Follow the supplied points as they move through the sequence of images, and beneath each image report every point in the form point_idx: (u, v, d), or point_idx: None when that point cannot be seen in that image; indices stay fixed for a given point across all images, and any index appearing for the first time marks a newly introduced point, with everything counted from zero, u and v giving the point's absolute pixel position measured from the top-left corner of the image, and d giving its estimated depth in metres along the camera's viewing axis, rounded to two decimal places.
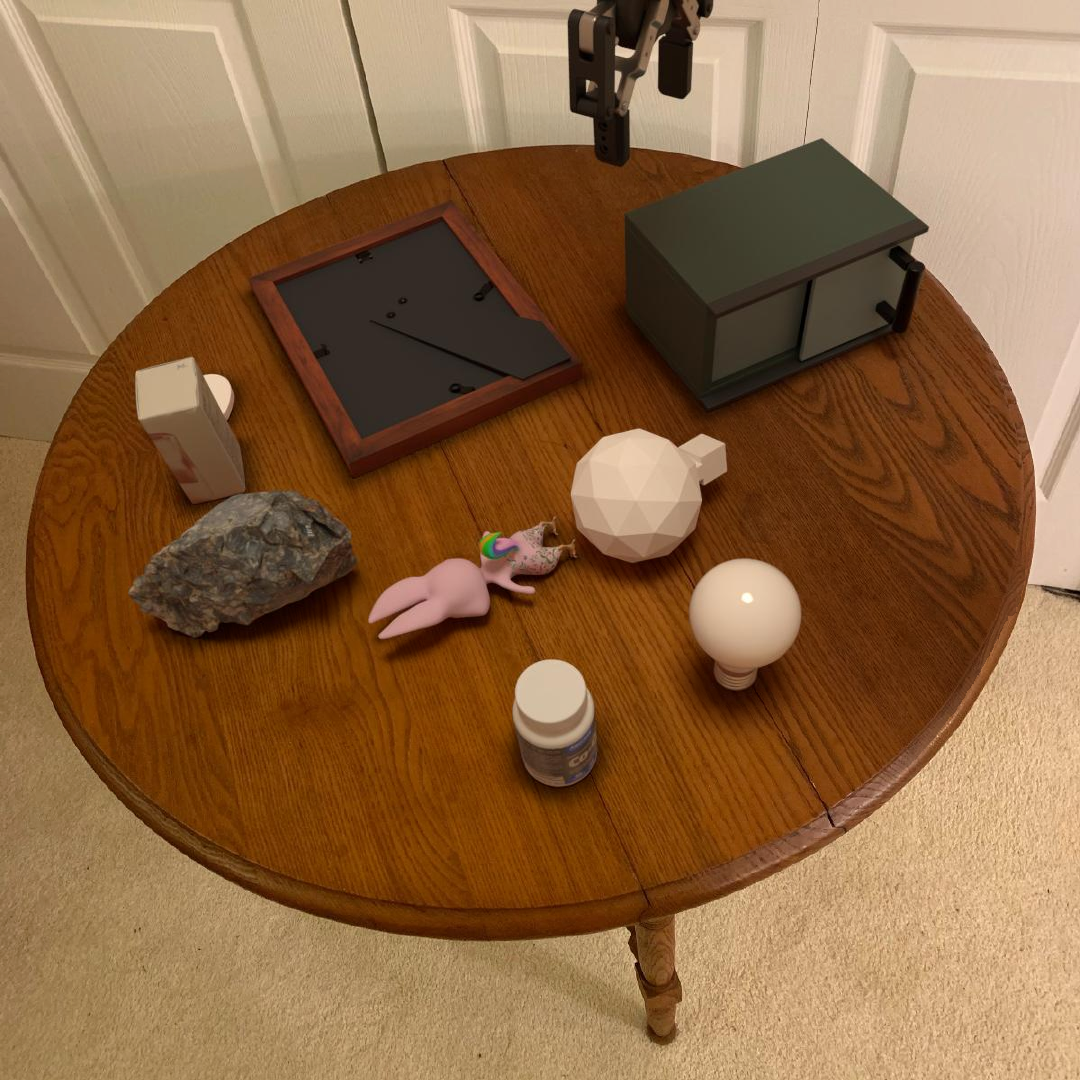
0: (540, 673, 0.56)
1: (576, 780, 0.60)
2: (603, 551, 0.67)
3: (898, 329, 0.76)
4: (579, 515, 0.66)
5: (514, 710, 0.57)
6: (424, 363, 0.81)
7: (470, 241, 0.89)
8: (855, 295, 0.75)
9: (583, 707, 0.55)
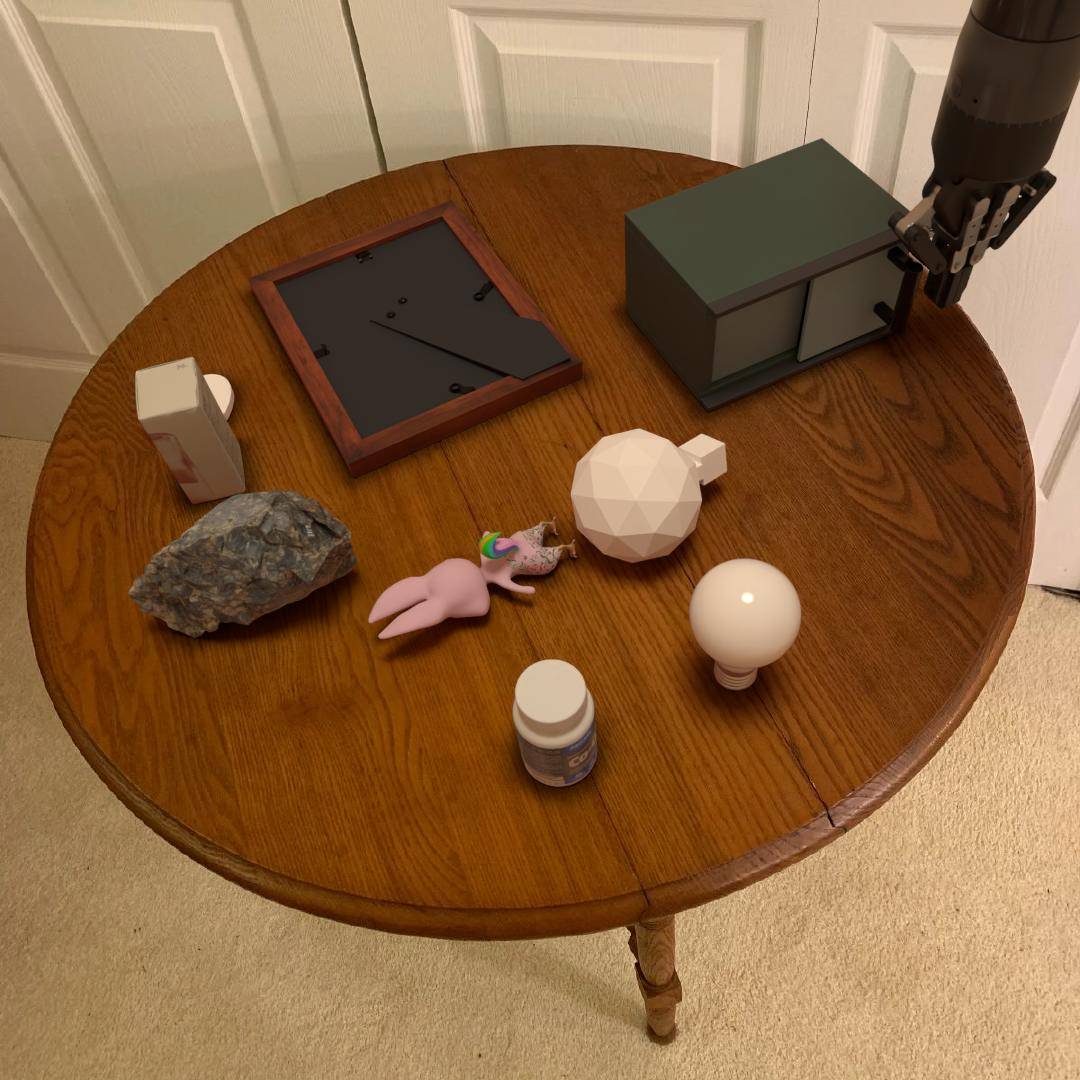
0: (540, 673, 0.56)
1: (576, 780, 0.60)
2: (603, 551, 0.67)
3: (896, 330, 0.76)
4: (579, 515, 0.66)
5: (514, 710, 0.57)
6: (424, 363, 0.81)
7: (470, 241, 0.89)
8: (853, 296, 0.75)
9: (583, 707, 0.55)
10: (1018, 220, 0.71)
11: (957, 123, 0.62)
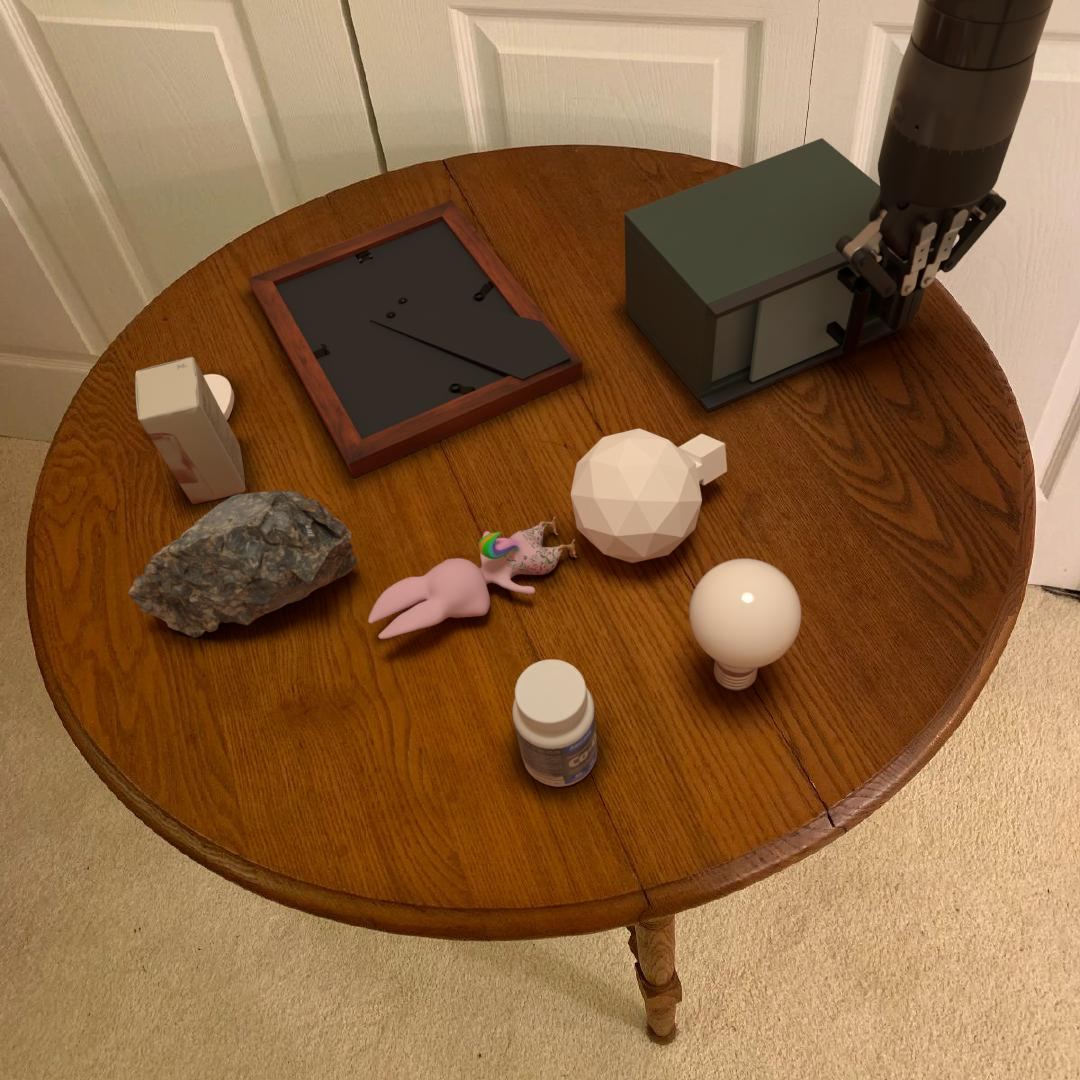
0: (540, 673, 0.56)
1: (576, 780, 0.60)
2: (603, 551, 0.67)
3: (848, 351, 0.75)
4: (579, 515, 0.66)
5: (514, 710, 0.57)
6: (424, 363, 0.81)
7: (470, 241, 0.89)
8: (804, 316, 0.74)
9: (583, 707, 0.55)
10: (968, 243, 0.70)
11: (900, 148, 0.62)
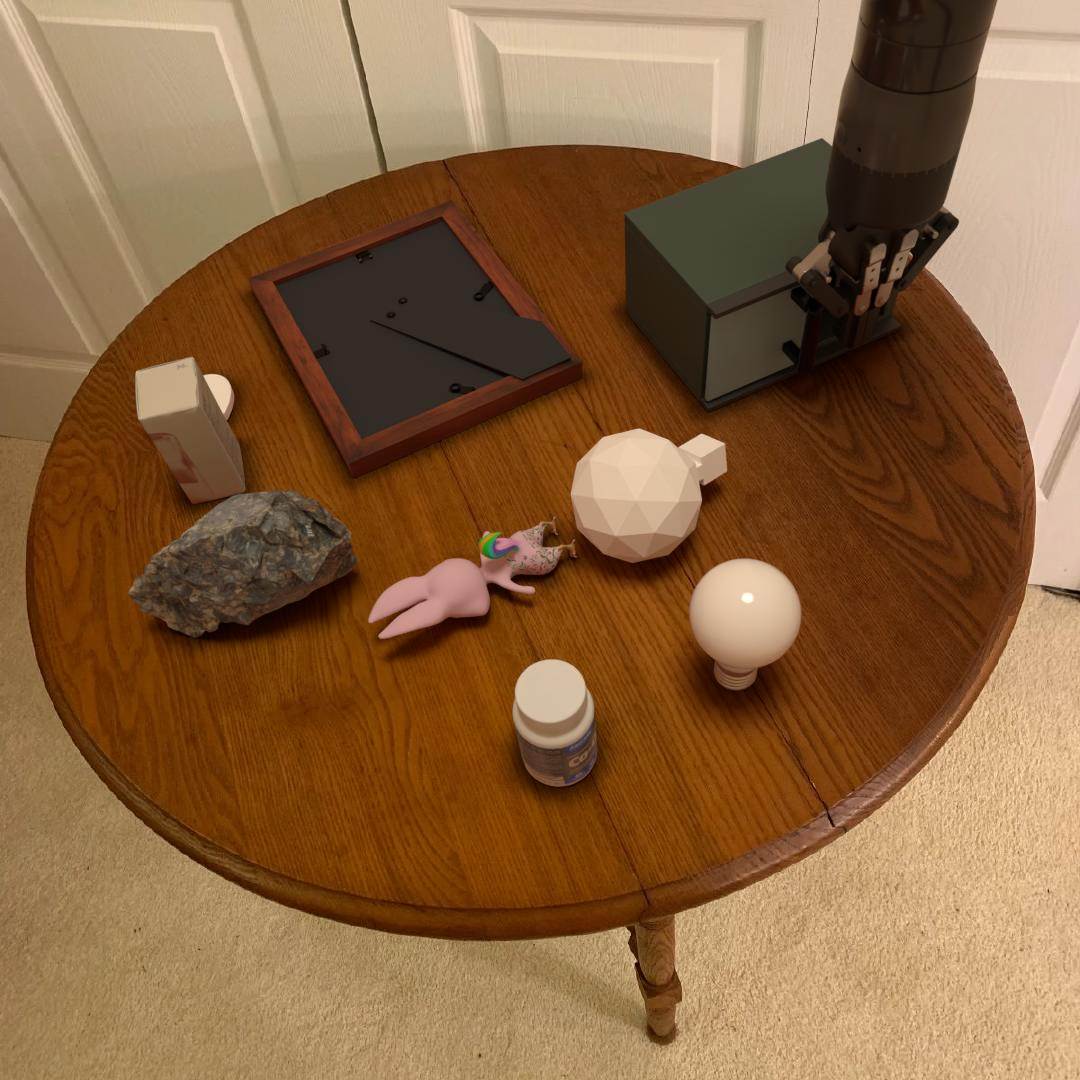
0: (540, 673, 0.56)
1: (576, 780, 0.60)
2: (603, 551, 0.67)
3: (803, 370, 0.74)
4: (579, 515, 0.66)
5: (514, 710, 0.57)
6: (424, 363, 0.81)
7: (470, 241, 0.89)
8: (758, 336, 0.74)
9: (583, 707, 0.55)
10: (922, 262, 0.70)
11: (844, 170, 0.61)
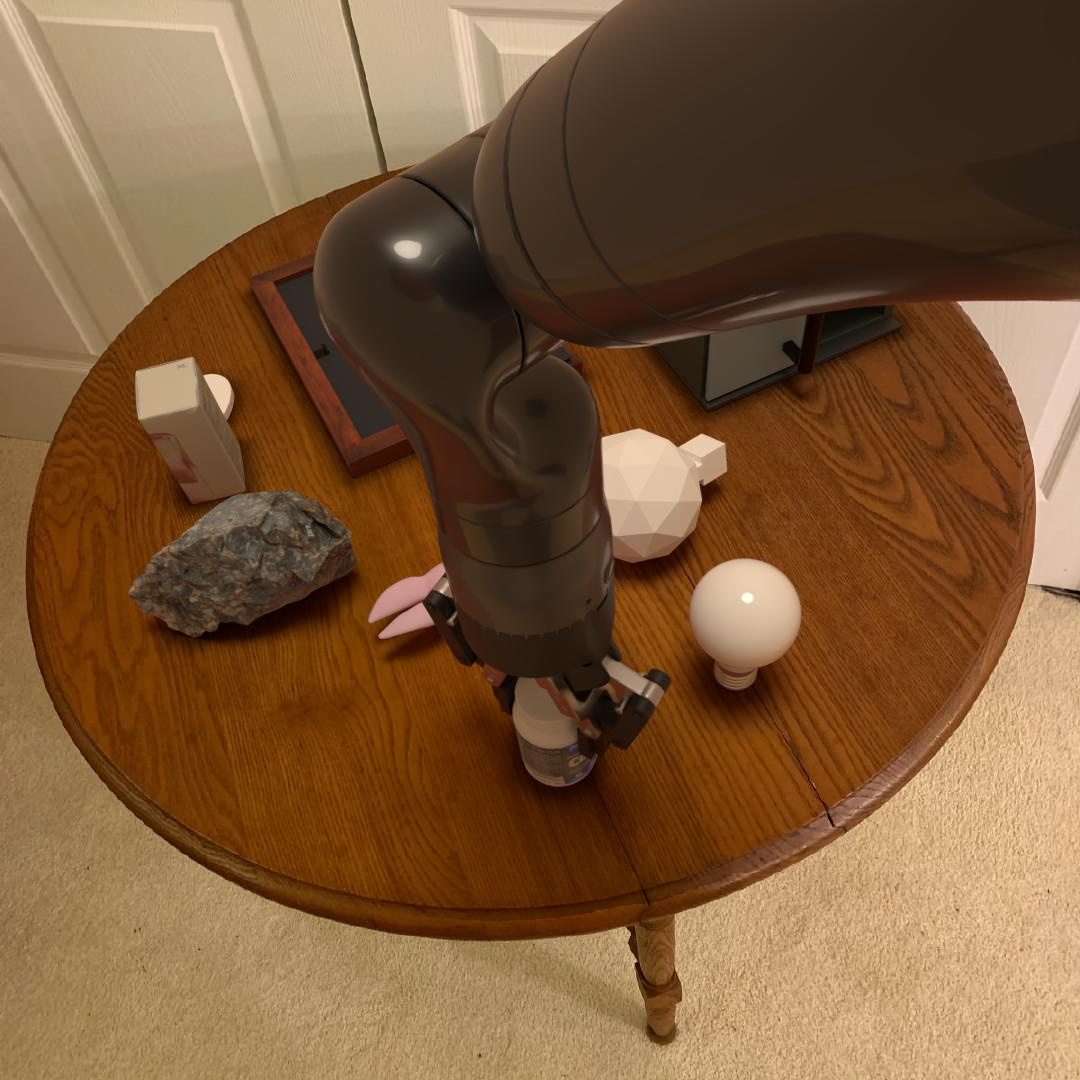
0: None
1: (576, 780, 0.60)
2: None
3: (803, 370, 0.74)
4: None
5: (514, 710, 0.57)
6: None
7: None
8: (758, 335, 0.74)
9: None
10: (624, 732, 0.50)
11: None
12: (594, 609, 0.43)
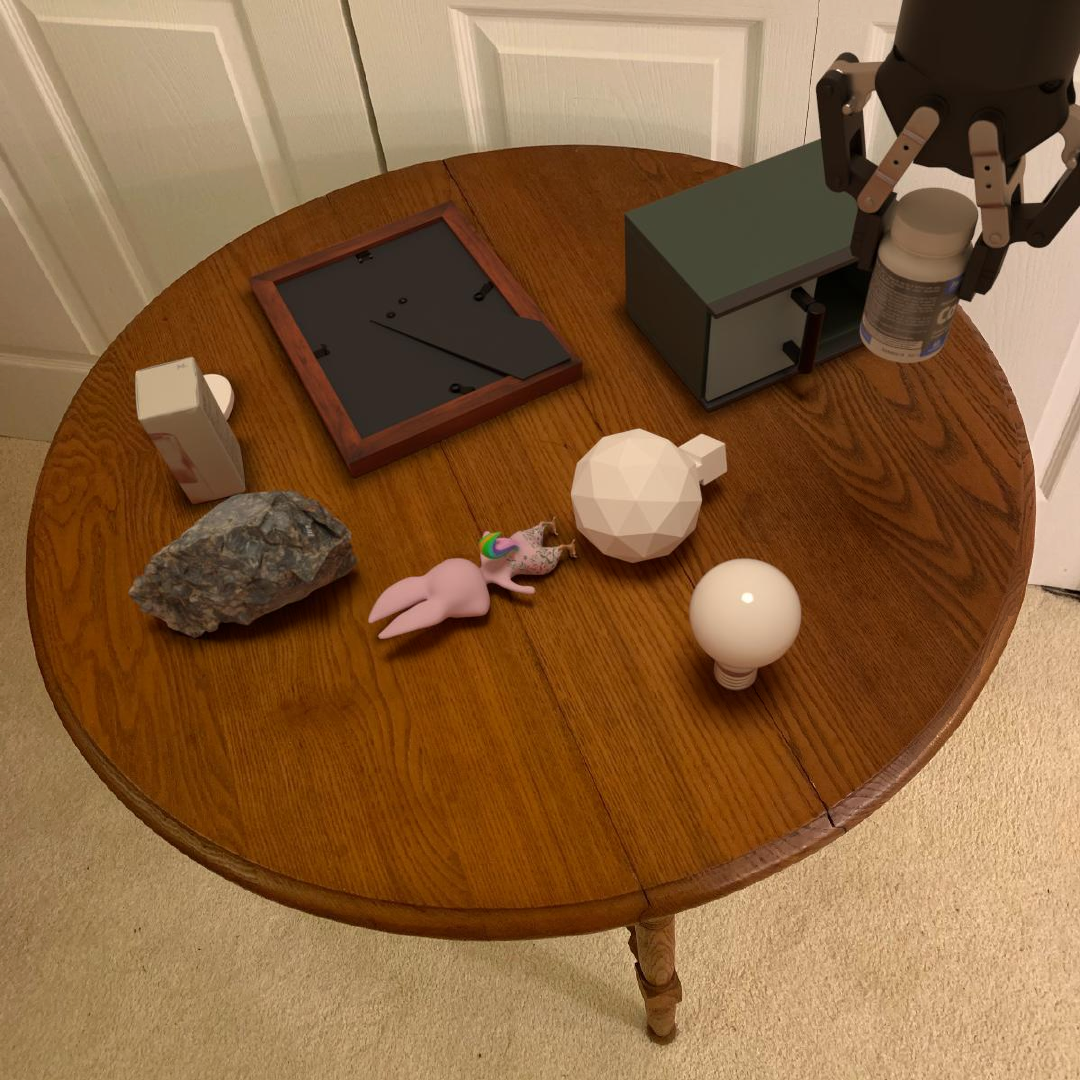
0: (921, 198, 0.50)
1: (931, 353, 0.55)
2: (603, 551, 0.67)
3: (803, 370, 0.74)
4: (579, 515, 0.66)
5: (884, 249, 0.51)
6: (424, 363, 0.81)
7: (470, 241, 0.89)
8: (758, 335, 0.74)
9: (975, 227, 0.50)
10: (1062, 207, 0.45)
11: None
12: None
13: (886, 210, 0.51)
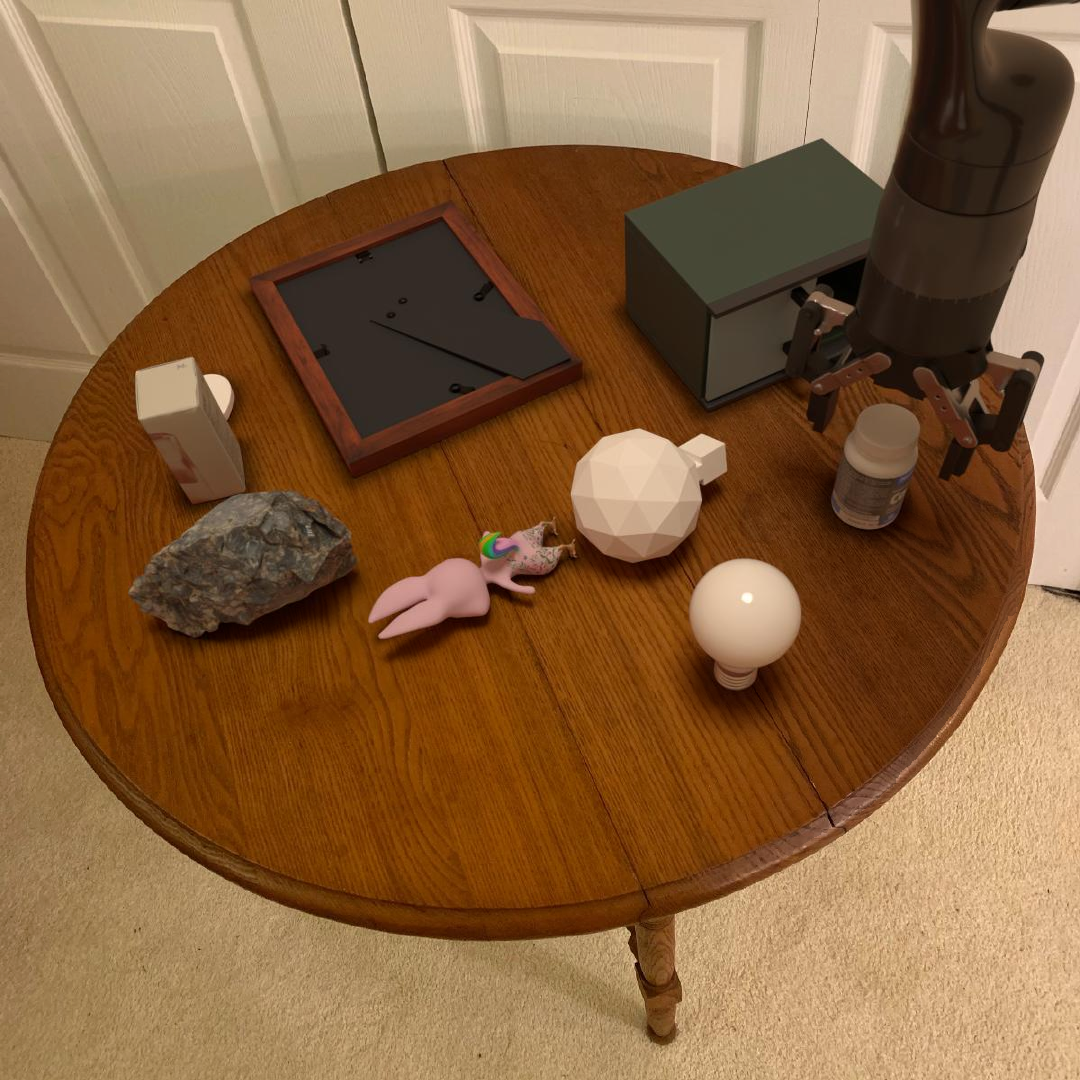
0: (876, 413, 0.65)
1: (886, 523, 0.69)
2: (603, 551, 0.67)
3: None
4: (579, 515, 0.66)
5: (848, 449, 0.66)
6: (424, 363, 0.81)
7: (470, 241, 0.89)
8: (758, 335, 0.74)
9: None
10: (1007, 423, 0.58)
11: None
12: (1008, 281, 0.52)
13: (833, 392, 0.64)
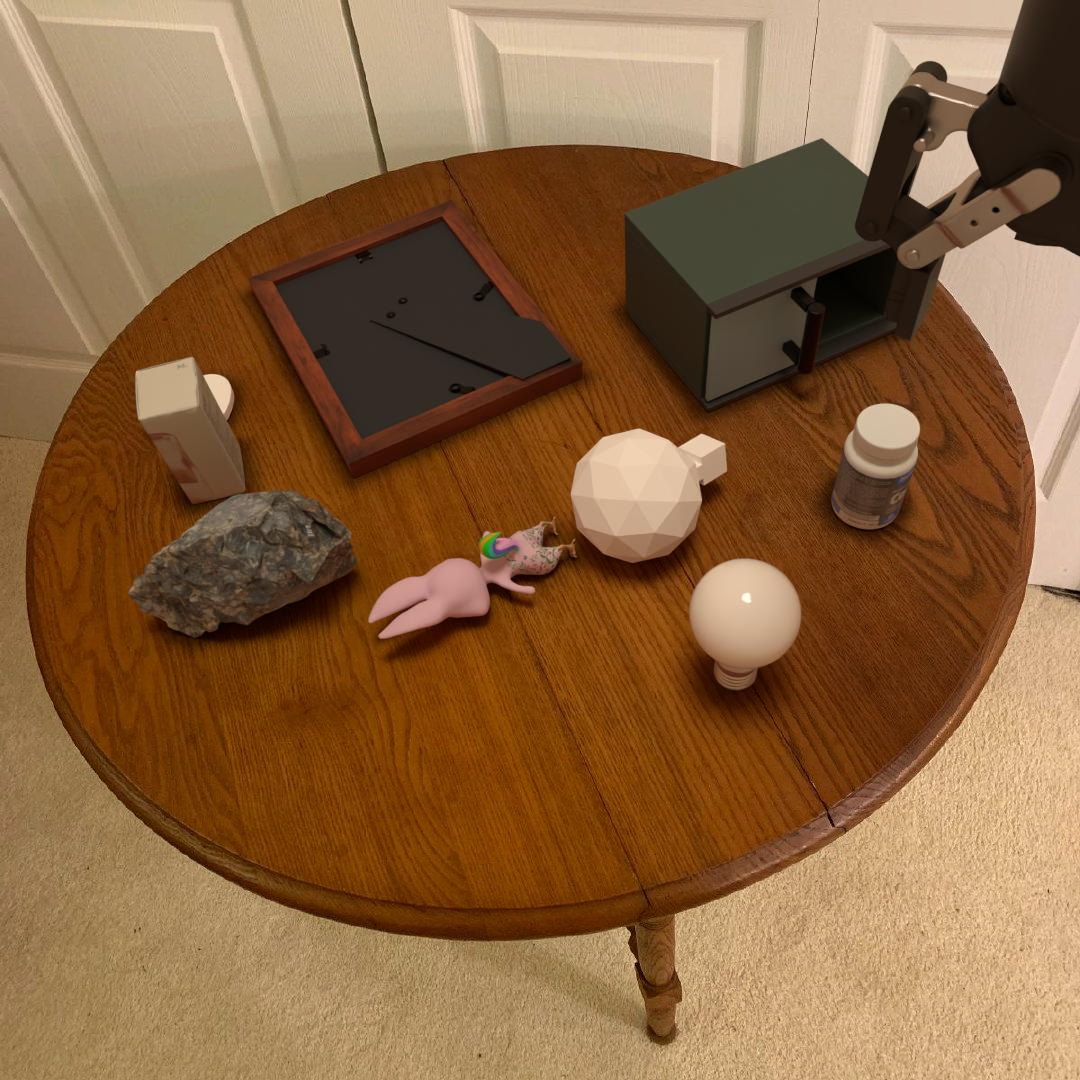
0: (876, 413, 0.65)
1: (886, 523, 0.69)
2: (603, 551, 0.67)
3: (803, 370, 0.74)
4: (579, 515, 0.66)
5: (848, 449, 0.66)
6: (424, 363, 0.81)
7: (470, 241, 0.89)
8: (758, 335, 0.74)
9: None
10: None
11: None
12: None
13: (935, 265, 0.38)
